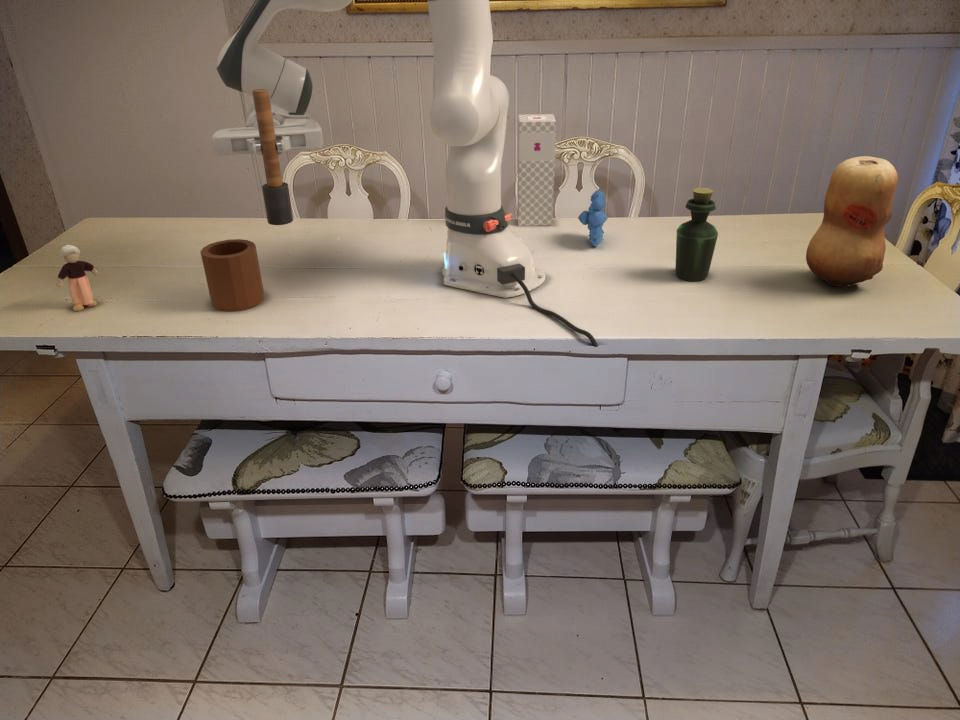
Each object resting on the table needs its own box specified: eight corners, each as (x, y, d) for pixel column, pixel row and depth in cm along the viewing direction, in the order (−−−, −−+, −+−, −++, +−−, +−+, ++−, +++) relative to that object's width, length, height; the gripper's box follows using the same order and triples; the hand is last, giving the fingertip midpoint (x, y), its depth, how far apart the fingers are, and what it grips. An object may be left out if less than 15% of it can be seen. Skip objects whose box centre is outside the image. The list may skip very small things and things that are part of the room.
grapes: (577, 233, 175) (579, 184, 169) (605, 234, 174) (608, 184, 168) (576, 251, 165) (578, 199, 159) (606, 251, 164) (610, 199, 158)
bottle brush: (298, 220, 141) (279, 89, 129) (277, 227, 137) (256, 93, 125) (283, 215, 143) (263, 87, 131) (262, 221, 140) (240, 90, 128)
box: (517, 214, 188) (518, 114, 176) (550, 214, 188) (553, 114, 176) (518, 225, 181) (519, 122, 168) (552, 225, 181) (556, 121, 168)
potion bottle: (718, 274, 152) (731, 189, 143) (699, 286, 147) (712, 199, 138) (683, 264, 157) (694, 182, 148) (663, 276, 152) (673, 191, 143)
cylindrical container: (274, 298, 145) (265, 246, 140) (231, 316, 139) (219, 262, 133) (245, 286, 151) (235, 235, 146) (202, 302, 145) (190, 250, 139)
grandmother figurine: (74, 314, 140) (54, 253, 134) (63, 310, 142) (42, 249, 136) (110, 300, 146) (92, 240, 140) (99, 296, 148) (81, 236, 142)
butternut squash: (801, 292, 144) (829, 165, 131) (800, 267, 155) (825, 148, 142) (879, 301, 139) (915, 171, 127) (872, 275, 150) (905, 152, 138)
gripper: (210, 119, 140) (206, 135, 129) (317, 112, 145) (323, 127, 133) (216, 152, 144) (213, 170, 132) (321, 144, 148) (327, 161, 136)
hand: (269, 148), depth 133 cm, fingers closed on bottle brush, 3 cm apart
